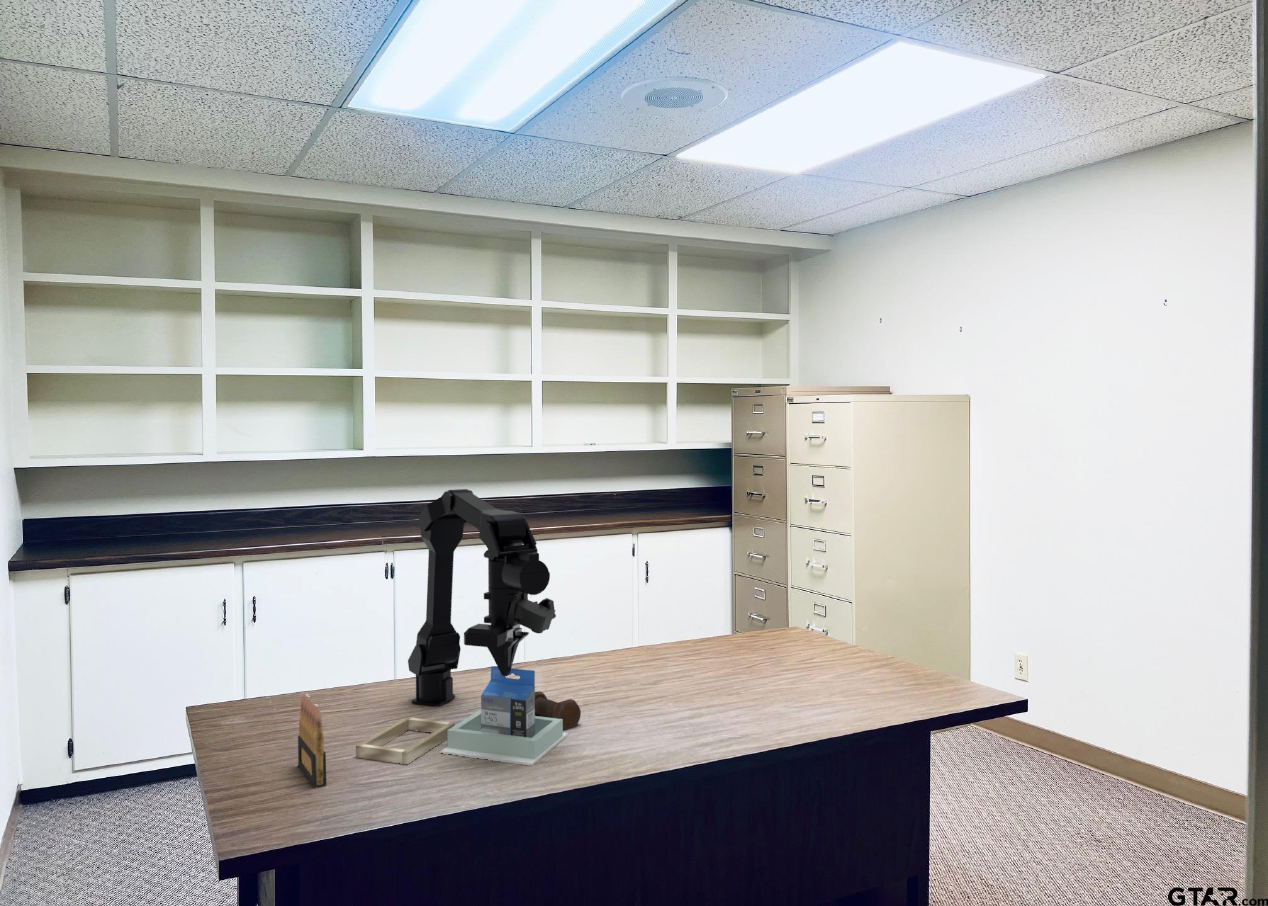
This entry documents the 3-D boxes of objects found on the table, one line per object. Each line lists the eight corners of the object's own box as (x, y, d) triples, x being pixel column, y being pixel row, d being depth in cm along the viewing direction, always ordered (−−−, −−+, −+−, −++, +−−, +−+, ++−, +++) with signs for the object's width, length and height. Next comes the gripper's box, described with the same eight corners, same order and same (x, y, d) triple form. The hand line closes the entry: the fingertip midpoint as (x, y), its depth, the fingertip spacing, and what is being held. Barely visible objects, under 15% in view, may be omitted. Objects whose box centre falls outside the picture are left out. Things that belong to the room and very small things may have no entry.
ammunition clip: (297, 766, 143) (296, 693, 142) (309, 763, 144) (308, 691, 143) (314, 788, 134) (313, 710, 134) (326, 785, 135) (325, 708, 135)
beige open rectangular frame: (355, 757, 146) (355, 745, 146) (406, 728, 160) (406, 717, 160) (407, 764, 143) (407, 752, 143) (454, 734, 157) (454, 723, 157)
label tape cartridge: (479, 742, 152) (479, 671, 152) (490, 734, 156) (490, 666, 155) (526, 748, 149) (525, 676, 149) (536, 740, 153) (535, 670, 152)
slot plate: (440, 753, 148) (440, 733, 148) (483, 724, 162) (483, 706, 162) (531, 766, 142) (531, 745, 142) (568, 735, 157) (568, 716, 156)
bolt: (526, 718, 172) (573, 735, 160) (507, 710, 169) (553, 727, 157) (537, 689, 173) (585, 704, 162) (519, 681, 171) (566, 696, 159)
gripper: (523, 599, 140) (523, 696, 140) (569, 579, 158) (569, 665, 158) (461, 594, 144) (462, 689, 144) (513, 576, 161) (514, 660, 162)
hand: (505, 675), depth 152 cm, fingers closed
